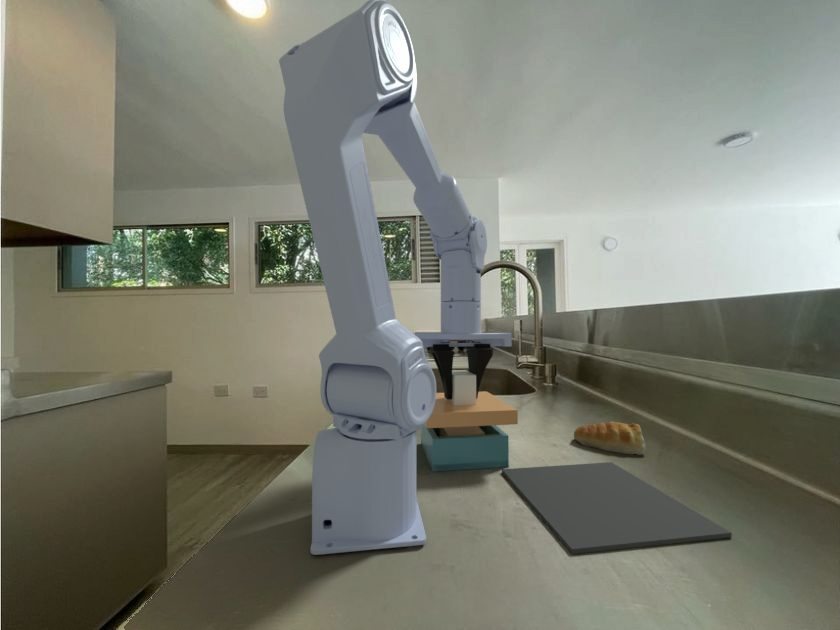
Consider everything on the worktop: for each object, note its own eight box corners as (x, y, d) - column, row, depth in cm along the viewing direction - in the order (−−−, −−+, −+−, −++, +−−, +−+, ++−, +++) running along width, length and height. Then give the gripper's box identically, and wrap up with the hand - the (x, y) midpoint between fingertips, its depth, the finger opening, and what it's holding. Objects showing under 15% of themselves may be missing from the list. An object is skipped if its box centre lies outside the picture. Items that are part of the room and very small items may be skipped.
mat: (572, 554, 27) (572, 549, 27) (501, 472, 42) (501, 469, 42) (731, 537, 30) (731, 532, 30) (611, 465, 44) (611, 462, 44)
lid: (426, 428, 42) (426, 380, 42) (414, 404, 53) (414, 368, 53) (517, 424, 43) (517, 378, 43) (486, 402, 55) (486, 366, 55)
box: (432, 471, 43) (432, 439, 43) (421, 443, 53) (421, 417, 53) (508, 466, 44) (508, 435, 44) (483, 440, 54) (483, 414, 54)
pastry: (575, 449, 50) (575, 424, 51) (572, 435, 57) (572, 412, 57) (649, 458, 47) (649, 431, 47) (637, 442, 53) (637, 418, 54)
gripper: (498, 304, 54) (499, 390, 53) (407, 303, 52) (407, 393, 51) (517, 301, 47) (518, 400, 46) (413, 300, 45) (412, 404, 44)
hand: (460, 397), depth 48 cm, fingers closed on lid, 3 cm apart
